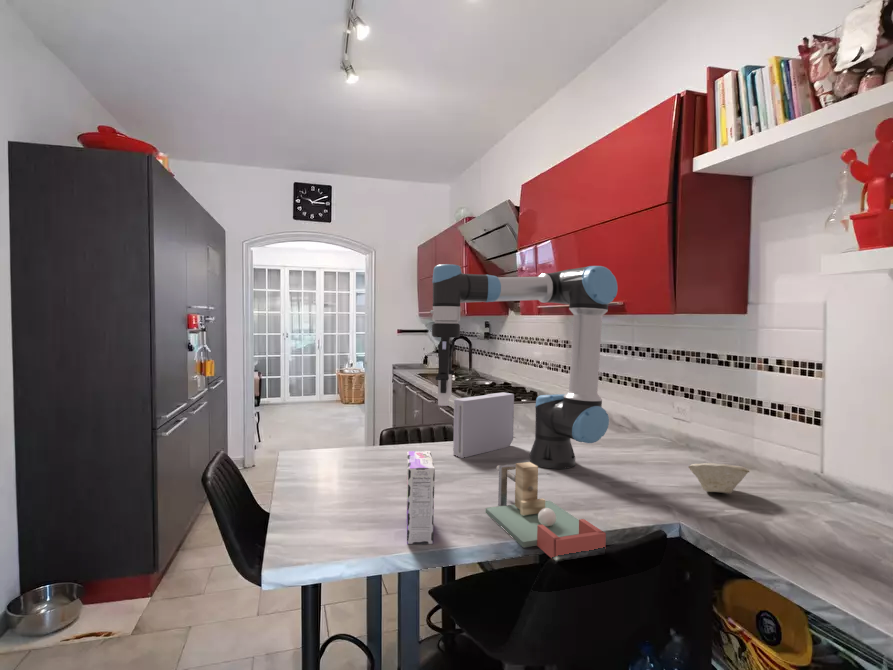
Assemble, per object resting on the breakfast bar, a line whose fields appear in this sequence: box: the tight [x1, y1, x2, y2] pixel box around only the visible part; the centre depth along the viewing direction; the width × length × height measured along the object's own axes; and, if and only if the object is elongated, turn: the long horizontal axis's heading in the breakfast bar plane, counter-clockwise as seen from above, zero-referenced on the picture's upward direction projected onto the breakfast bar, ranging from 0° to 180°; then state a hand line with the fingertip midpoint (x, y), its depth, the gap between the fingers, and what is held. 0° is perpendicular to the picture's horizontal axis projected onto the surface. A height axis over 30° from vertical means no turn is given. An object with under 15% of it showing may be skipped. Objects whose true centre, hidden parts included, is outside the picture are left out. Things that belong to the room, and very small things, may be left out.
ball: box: [538, 508, 556, 527], centre depth 112 cm, size 4×4×4 cm
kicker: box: [496, 461, 546, 515], centre depth 127 cm, size 6×20×11 cm, turn 19°
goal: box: [536, 518, 607, 559], centre depth 103 cm, size 11×8×4 cm
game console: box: [452, 391, 515, 459], centre depth 182 cm, size 6×27×20 cm, turn 133°
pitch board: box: [485, 500, 579, 549], centre depth 116 cm, size 18×20×1 cm
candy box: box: [406, 450, 436, 545], centre depth 112 cm, size 14×6×16 cm, turn 5°
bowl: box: [688, 462, 750, 494], centre depth 140 cm, size 15×14×10 cm
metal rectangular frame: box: [497, 463, 516, 506], centre depth 128 cm, size 8×2×10 cm, turn 109°
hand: (445, 401), depth 135 cm, fingers open, 13 cm apart
